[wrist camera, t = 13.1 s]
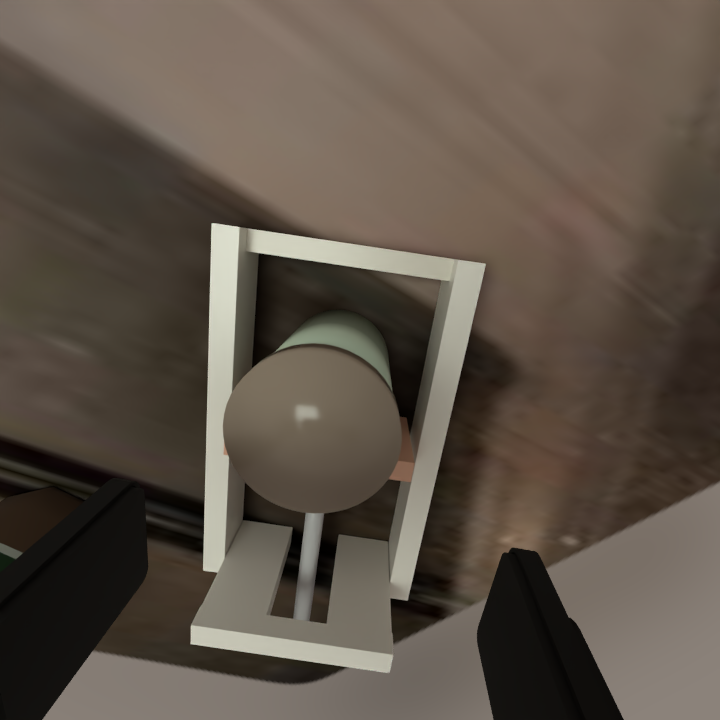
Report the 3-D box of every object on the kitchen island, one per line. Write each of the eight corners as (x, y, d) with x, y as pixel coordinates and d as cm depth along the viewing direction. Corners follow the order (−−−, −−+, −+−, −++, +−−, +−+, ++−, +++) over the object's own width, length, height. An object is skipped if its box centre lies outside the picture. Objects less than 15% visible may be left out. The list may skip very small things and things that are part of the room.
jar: (399, 315, 20) (416, 365, 11) (382, 413, 21) (386, 524, 13) (291, 299, 20) (225, 338, 11) (282, 399, 21) (220, 500, 13)
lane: (469, 261, 19) (520, 268, 12) (403, 559, 24) (414, 676, 18) (236, 226, 19) (159, 214, 12) (223, 532, 24) (165, 640, 18)
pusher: (406, 417, 21) (414, 463, 17) (372, 593, 25) (371, 669, 20) (256, 395, 21) (224, 435, 17) (244, 574, 25) (215, 646, 20)
